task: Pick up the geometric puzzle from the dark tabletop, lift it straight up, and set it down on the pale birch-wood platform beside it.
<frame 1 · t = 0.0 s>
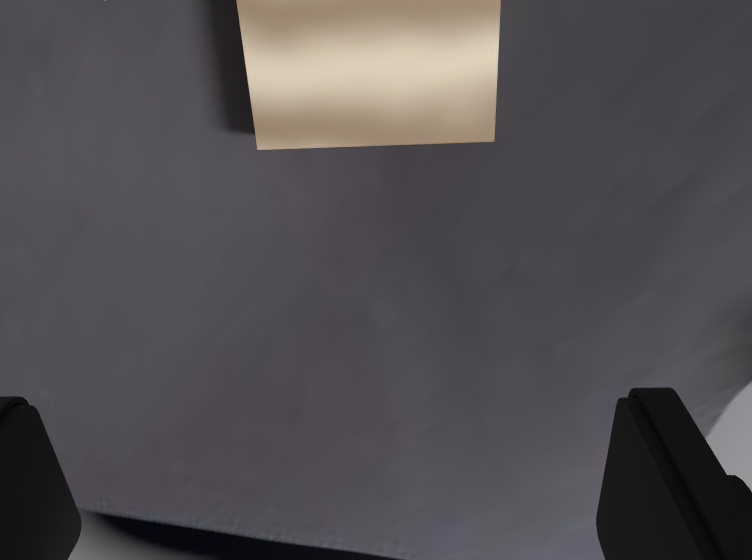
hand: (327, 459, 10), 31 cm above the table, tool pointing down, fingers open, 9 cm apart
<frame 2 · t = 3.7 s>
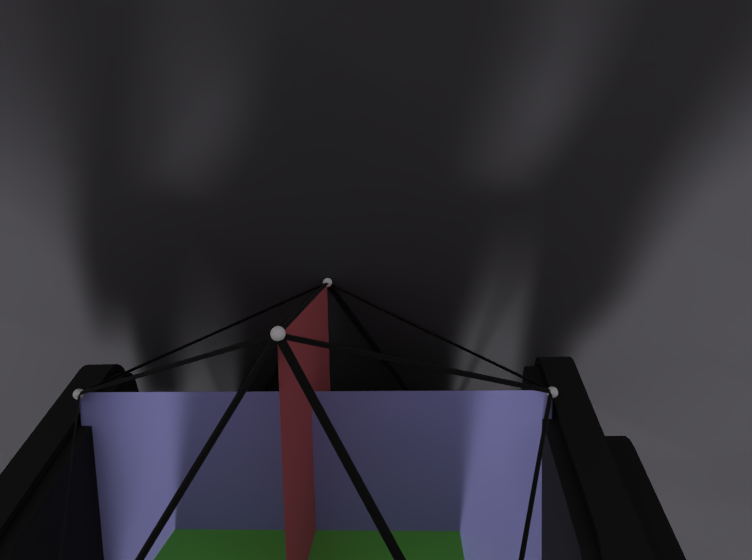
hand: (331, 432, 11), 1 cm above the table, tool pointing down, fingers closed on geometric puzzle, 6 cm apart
geometric puzzle: (336, 383, 12), on the table, touching gripper
when the fingers open (5 cm above the table, at t = 10.4 s): geometric puzzle drops 1 cm, resting on birch platform.
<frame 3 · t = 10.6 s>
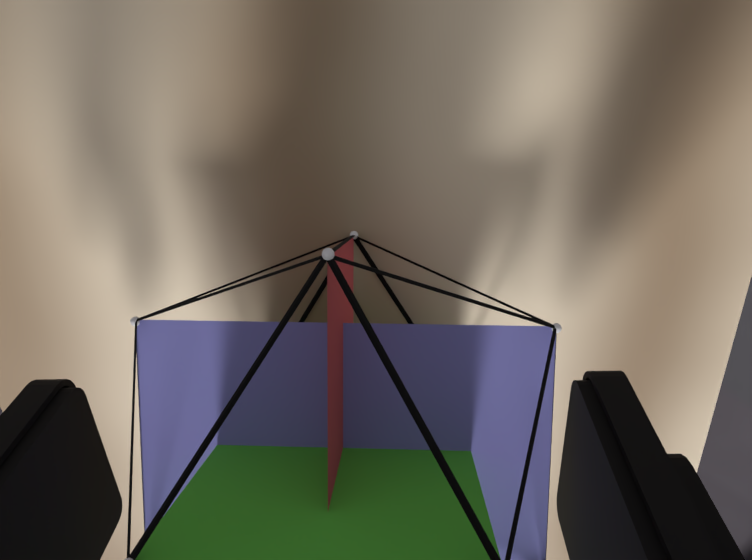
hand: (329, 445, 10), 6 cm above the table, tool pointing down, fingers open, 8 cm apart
birch platform: (352, 277, 16), on the table
geometric puzzle: (356, 331, 13), point 3 cm above the table, touching birch platform
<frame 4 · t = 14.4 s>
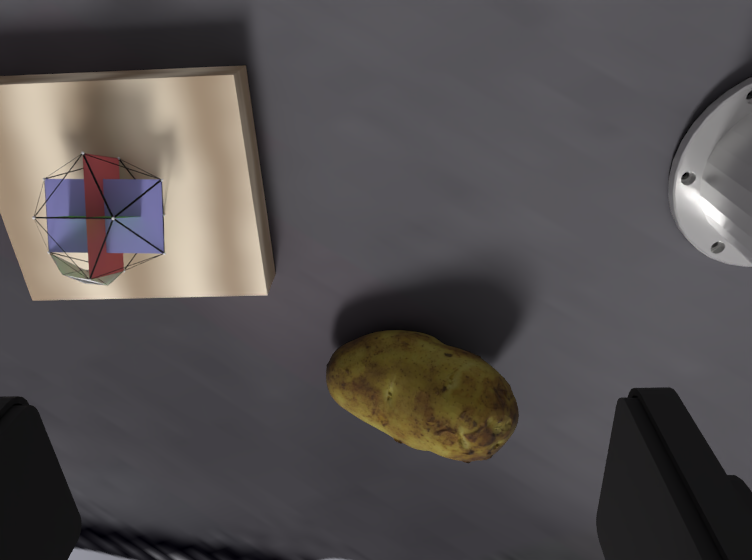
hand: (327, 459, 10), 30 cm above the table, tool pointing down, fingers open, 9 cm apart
birch platform: (141, 182, 40), on the table
potato: (419, 356, 46), on the table
geometric puzzle: (128, 194, 38), point 3 cm above the table, touching birch platform
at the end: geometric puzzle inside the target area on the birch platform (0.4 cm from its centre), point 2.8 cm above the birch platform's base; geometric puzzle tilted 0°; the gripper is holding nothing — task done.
